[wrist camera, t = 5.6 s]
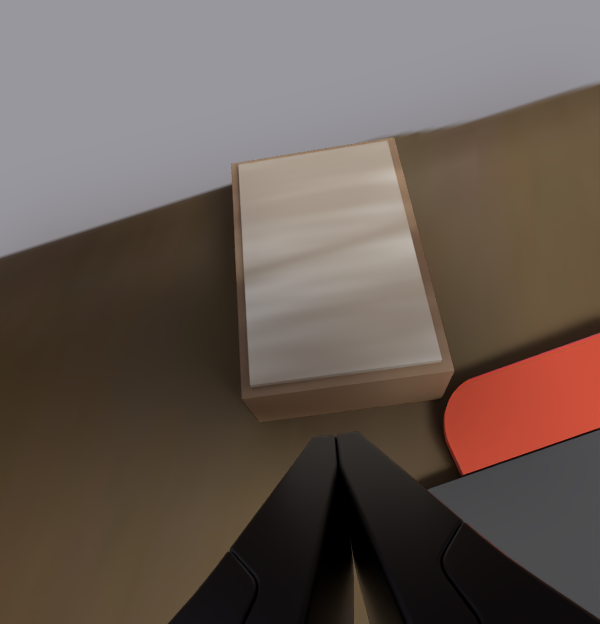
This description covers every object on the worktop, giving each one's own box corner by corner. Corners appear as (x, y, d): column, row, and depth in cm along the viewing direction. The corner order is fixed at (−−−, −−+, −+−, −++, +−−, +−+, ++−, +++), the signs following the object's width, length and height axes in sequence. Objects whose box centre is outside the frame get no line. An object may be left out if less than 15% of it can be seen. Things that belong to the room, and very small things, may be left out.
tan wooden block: (455, 368, 13) (394, 133, 17) (240, 396, 14) (229, 159, 18) (439, 401, 16) (390, 192, 20) (261, 424, 17) (248, 214, 21)
